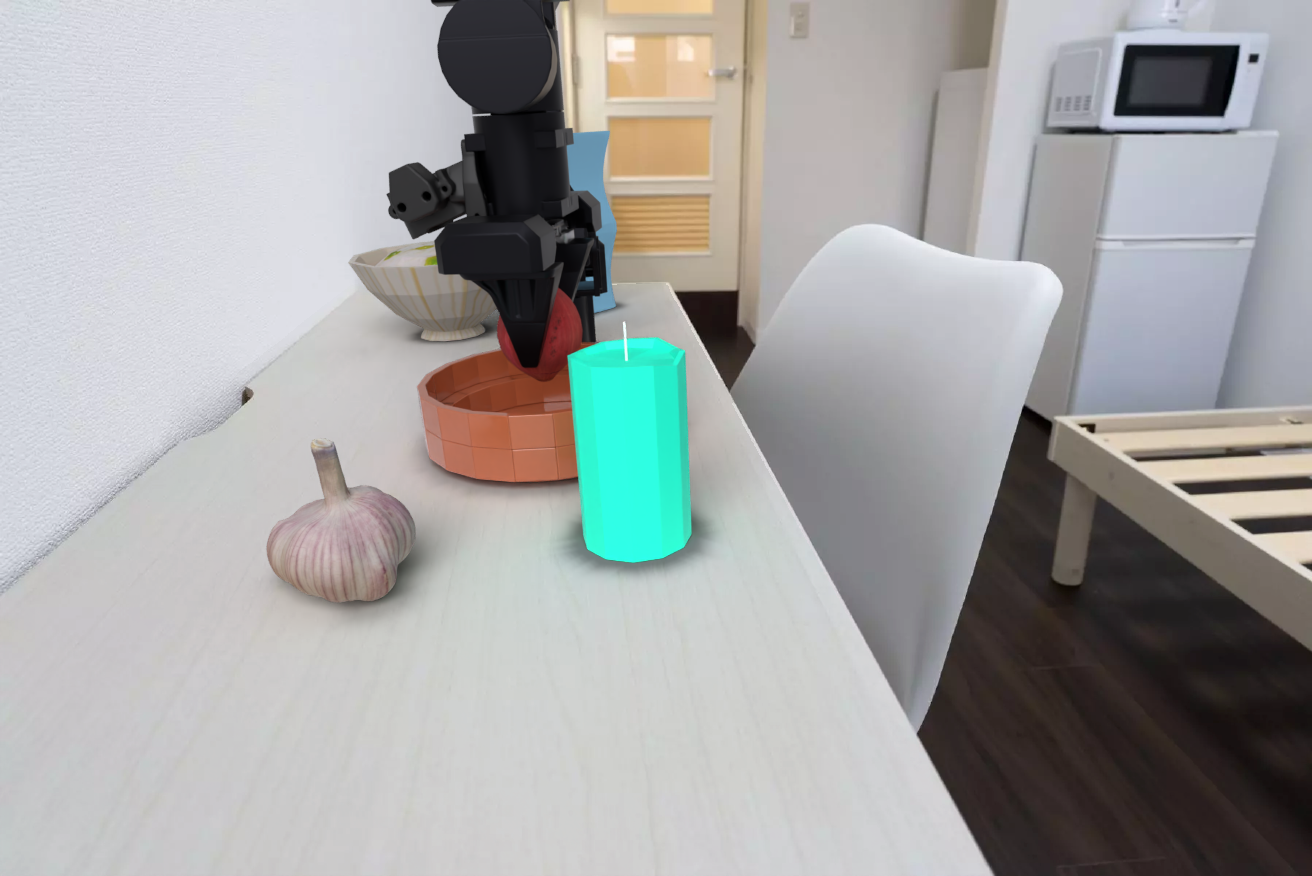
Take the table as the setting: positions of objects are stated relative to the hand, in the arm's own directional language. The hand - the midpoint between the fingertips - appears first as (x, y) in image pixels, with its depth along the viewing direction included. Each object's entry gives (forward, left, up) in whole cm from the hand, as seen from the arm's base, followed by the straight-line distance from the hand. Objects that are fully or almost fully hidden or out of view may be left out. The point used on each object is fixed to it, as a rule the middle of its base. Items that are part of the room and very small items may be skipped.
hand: (542, 354), depth 58 cm
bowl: (-9, -36, -7) cm, 38 cm away
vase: (-25, -36, -7) cm, 44 cm away
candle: (+4, +16, -7) cm, 18 cm away
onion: (0, 0, -2) cm, 2 cm away
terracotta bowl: (0, 0, -6) cm, 6 cm away
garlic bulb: (+18, +10, -7) cm, 22 cm away
